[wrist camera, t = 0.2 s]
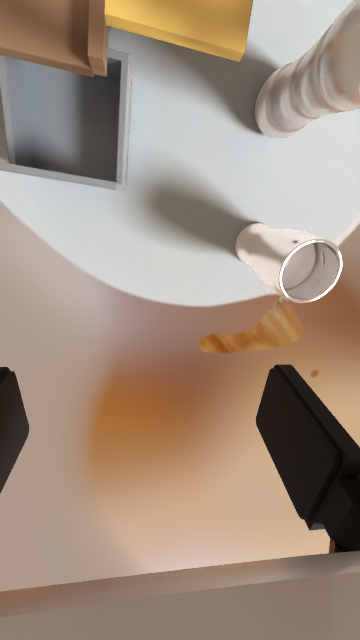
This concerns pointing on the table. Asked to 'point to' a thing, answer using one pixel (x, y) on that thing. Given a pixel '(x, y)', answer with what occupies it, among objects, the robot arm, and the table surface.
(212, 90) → the table surface
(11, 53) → the lever chute
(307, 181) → the table surface
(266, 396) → the robot arm
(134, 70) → the table surface
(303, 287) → the beer glass
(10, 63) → the cup
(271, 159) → the table surface
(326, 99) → the plastic bottle
